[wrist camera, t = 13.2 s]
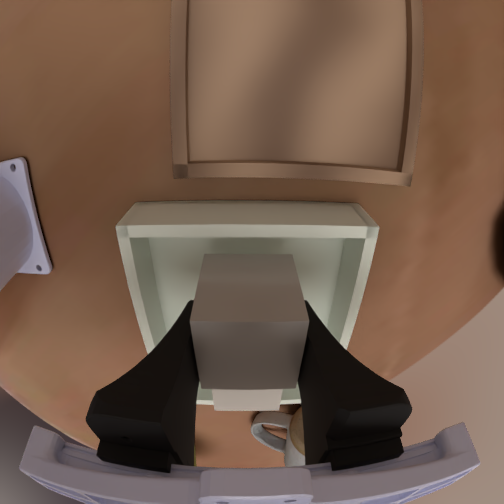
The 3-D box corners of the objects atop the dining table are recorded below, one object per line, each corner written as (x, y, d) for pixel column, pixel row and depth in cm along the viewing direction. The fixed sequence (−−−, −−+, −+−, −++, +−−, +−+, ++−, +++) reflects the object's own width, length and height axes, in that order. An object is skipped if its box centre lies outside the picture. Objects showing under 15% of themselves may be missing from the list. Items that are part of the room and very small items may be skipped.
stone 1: (209, 319, 16) (201, 388, 12) (204, 253, 14) (189, 320, 10) (285, 319, 16) (295, 388, 12) (292, 254, 14) (309, 321, 10)
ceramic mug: (362, 384, 24) (382, 457, 17) (350, 423, 28) (363, 483, 21) (245, 398, 25) (245, 475, 18) (255, 435, 29) (256, 496, 22)
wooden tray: (178, 173, 15) (173, 178, 14) (182, -70, 8) (179, -78, 7) (402, 180, 15) (410, 186, 14) (408, -44, 8) (416, -49, 7)
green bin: (170, 371, 22) (164, 401, 20) (135, 202, 15) (115, 226, 13) (321, 370, 23) (327, 400, 20) (358, 203, 16) (379, 227, 13)
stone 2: (218, 357, 21) (214, 410, 17) (215, 317, 19) (209, 373, 15) (273, 358, 21) (278, 410, 17) (278, 317, 19) (285, 373, 15)
